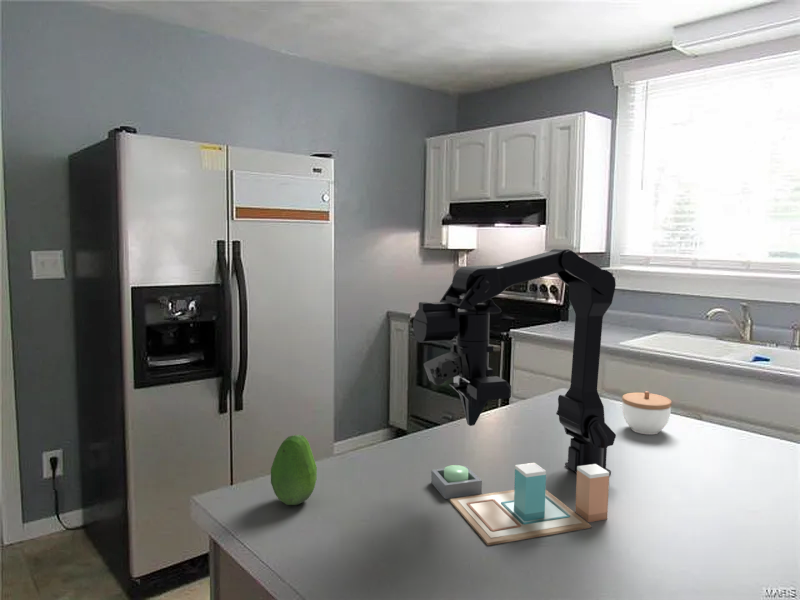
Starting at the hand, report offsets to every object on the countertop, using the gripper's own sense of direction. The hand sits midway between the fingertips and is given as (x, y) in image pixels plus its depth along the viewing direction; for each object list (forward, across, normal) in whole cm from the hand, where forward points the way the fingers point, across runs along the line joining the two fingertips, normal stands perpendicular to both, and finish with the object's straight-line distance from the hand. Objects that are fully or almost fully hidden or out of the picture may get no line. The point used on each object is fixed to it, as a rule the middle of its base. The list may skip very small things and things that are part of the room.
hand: (471, 425), depth 104 cm
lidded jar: (+13, -18, +53) cm, 57 cm away
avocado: (+13, -5, -31) cm, 34 cm away
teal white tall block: (+12, +12, +5) cm, 18 cm away
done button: (+12, -2, -2) cm, 12 cm away
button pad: (+12, -2, -2) cm, 13 cm away
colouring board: (+12, +10, +4) cm, 17 cm away
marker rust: (+12, +14, +16) cm, 24 cm away
